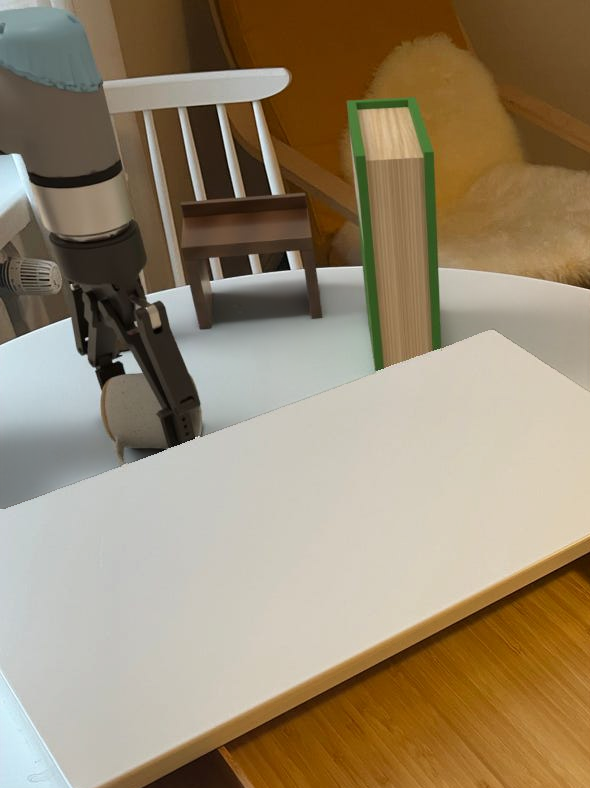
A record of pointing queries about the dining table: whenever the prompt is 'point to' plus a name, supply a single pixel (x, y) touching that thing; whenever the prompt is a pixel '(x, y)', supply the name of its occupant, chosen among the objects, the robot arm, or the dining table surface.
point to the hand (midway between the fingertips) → (156, 443)
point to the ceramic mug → (136, 414)
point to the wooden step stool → (245, 240)
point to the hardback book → (396, 227)
